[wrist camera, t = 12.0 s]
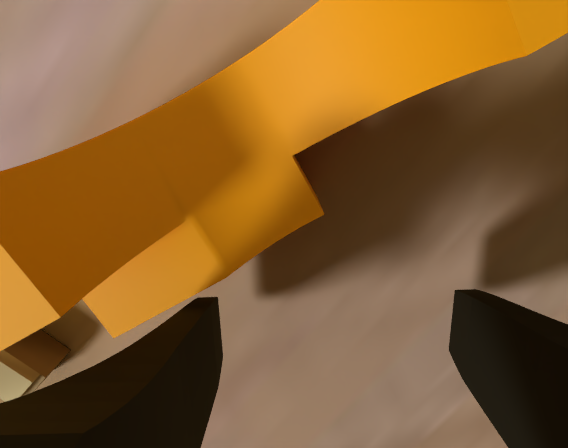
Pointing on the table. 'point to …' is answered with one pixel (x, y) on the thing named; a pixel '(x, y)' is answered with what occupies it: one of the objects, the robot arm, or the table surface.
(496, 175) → the table surface
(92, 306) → the pipe clamp
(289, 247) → the table surface
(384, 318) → the table surface
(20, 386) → the guide rails
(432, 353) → the table surface
